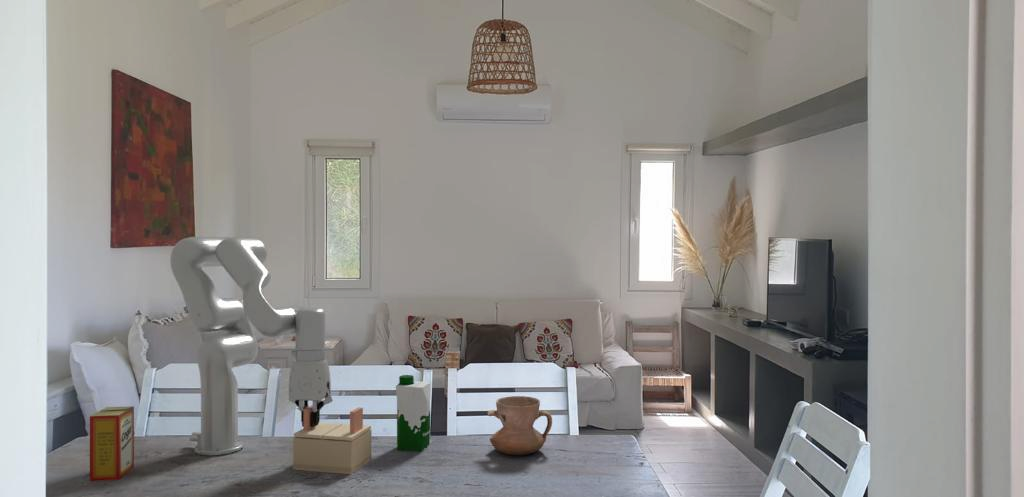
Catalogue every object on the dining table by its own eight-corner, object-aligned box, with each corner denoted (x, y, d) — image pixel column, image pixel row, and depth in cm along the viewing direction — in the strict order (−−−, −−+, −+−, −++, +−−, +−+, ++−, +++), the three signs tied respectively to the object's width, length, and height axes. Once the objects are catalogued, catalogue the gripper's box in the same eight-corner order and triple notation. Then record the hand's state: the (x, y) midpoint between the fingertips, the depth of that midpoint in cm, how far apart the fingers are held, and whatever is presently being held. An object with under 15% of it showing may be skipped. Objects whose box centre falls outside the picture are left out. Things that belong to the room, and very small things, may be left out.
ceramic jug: (486, 459, 184) (486, 406, 184) (488, 443, 198) (488, 394, 198) (553, 459, 184) (553, 406, 184) (551, 444, 198) (551, 394, 198)
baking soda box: (118, 479, 167) (118, 413, 167) (89, 481, 166) (89, 414, 166) (133, 467, 177) (133, 404, 177) (106, 468, 176) (106, 405, 176)
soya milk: (403, 442, 200) (404, 373, 200) (433, 443, 198) (433, 374, 198) (392, 450, 191) (392, 378, 191) (423, 452, 189) (424, 380, 189)
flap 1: (293, 436, 175) (293, 411, 175) (316, 425, 187) (316, 401, 187) (321, 438, 174) (321, 413, 174) (342, 426, 185) (342, 403, 185)
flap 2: (323, 438, 174) (323, 413, 174) (343, 426, 185) (343, 403, 185) (351, 440, 172) (351, 415, 172) (370, 428, 183) (371, 404, 183)
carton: (292, 469, 175) (292, 438, 175) (316, 455, 187) (316, 425, 187) (351, 474, 172) (351, 442, 172) (371, 459, 183) (371, 429, 183)
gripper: (275, 356, 179) (275, 427, 179) (331, 359, 175) (331, 431, 175) (290, 352, 186) (290, 420, 186) (344, 354, 183) (344, 423, 183)
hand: (310, 425), depth 181 cm, fingers closed
